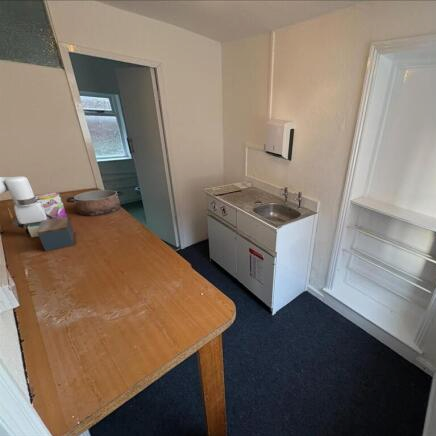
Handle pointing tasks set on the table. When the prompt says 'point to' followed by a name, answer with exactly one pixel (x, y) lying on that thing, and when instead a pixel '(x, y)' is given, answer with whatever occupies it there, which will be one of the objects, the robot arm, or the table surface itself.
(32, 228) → the cube
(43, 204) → the candy bar box
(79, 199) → the cooking pot
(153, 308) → the table surface
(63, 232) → the grey box shape
